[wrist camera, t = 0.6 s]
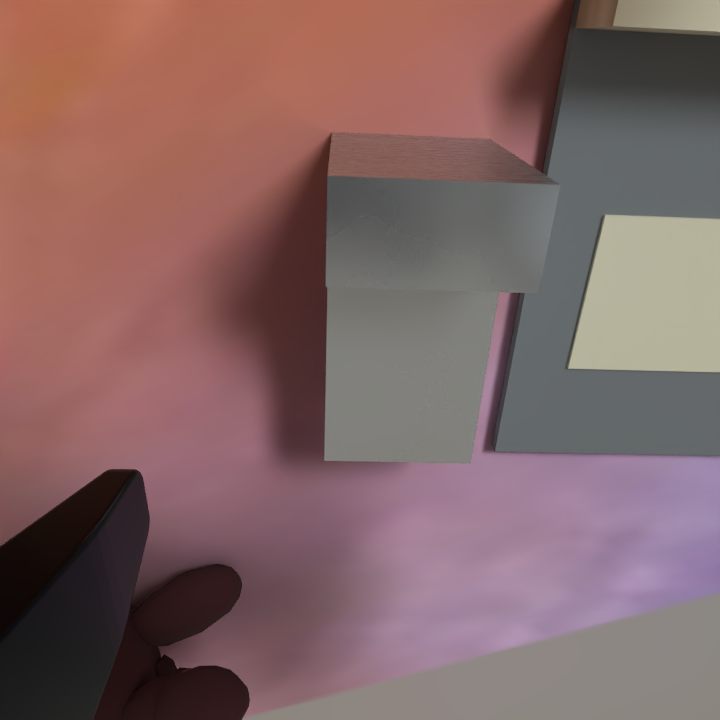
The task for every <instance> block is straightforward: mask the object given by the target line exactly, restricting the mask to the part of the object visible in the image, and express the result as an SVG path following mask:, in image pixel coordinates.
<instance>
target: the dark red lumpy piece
mask: <svg viewBox="0 0 720 720" xmlns="http://www.w3.org/2000/svg"><path fill="white" fill-rule="evenodd" d="M241 588H242V582H241V579H240V577H239V575H238V574H237V572H236V571H235V570H234V569H233V568H232V567H228V566H223V565H219V564H217V565H213V566H209V567H205V568H202V569H198V570H194V571H190V572H187V573H185V574H182V575H181V576H179V577H178V578H176V579H175V580H173V581H172V582H170V583H169V584H167V585H166V586H164V587H163V588H161V589H160V590H158V591H157V592H155V593H154V594H152V595H151V596H150V597H149V598H148V599H147V600H146V601H145V602H144V603H143V604H142V605H141V606H140V607H139V608H138V609H137V610H136V611H135V612H134V613H133V614H131V613H130V612H129V614H128V618H127V622H126V626H125V629H124V633H123V637H122V640H121V643H120V646H119V649H118V652H117V655H116V658H115V661H114V663H113V666H112V669H111V672H110V674H109V677H108V680H107V682H106V685H105V688H104V691H103V693H102V696H101V699H100V702H99V704H98V707H97V710H96V713H95V715H94V718H93V720H242V718H243V716H244V714H245V713H246V711H247V709H248V707H249V701H250V699H249V692H248V689H247V687H246V685H245V684H244V683H243V682H242V681H241V680H240V678H239V677H238V676H237V675H236V674H235V673H233V672H232V671H231V670H229V669H226V668H222V667H219V666H198V667H195V668H179V669H177V668H176V665H175V663H174V661H173V660H172V659H171V658H170V657H168V656H167V655H165V654H164V655H163V656H162V657H161V655H160V651H159V649H158V646H168V645H170V644H173V643H175V642H178V641H180V640H183V639H185V638H188V637H190V636H193V635H195V634H198V633H200V632H202V631H204V630H205V629H207V628H208V627H209V626H211V625H212V624H213V623H215V622H216V621H217V620H219V619H220V618H221V617H223V616H224V615H225V614H227V613H228V612H230V610H231V609H232V607H233V606H234V604H235V603H236V601H237V600H238V598H239V597H240V593H241Z"/></svg>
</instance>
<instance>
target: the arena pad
mask: <svg viewBox="0 0 720 720" xmlns="http://www.w3.org/2000/svg"><path fill="white" fill-rule="evenodd" d="M580 1H581V0H575V1H574V3H575V4H574V7H573V12H572V17H571V23H570V28H569V33H568V39H567V44H566V50H565V55H564V60H563V66H562V71H561V77H560V82H559V87H558V93H557V98H556V103H555V109H554V114H553V120H552V125H551V130H550V136H549V141H548V147H547V152H546V157H545V163H544V168H543V174H545V175H546V176H548V177H549V178H551V179H552V180H554V181H555V182H557V183H558V184H560V190H559V195H558V200H557V205H556V210H555V215H554V220H553V225H552V230H551V235H550V239H549V244H548V249H547V254H546V259H545V264H544V269H543V274H542V279H541V284H540V289H539V293H520V297H519V303H518V308H517V313H516V319H515V324H514V330H513V335H512V340H511V346H510V351H509V356H508V362H507V367H506V373H505V378H504V383H503V389H502V394H501V399H500V405H499V410H498V416H497V421H496V426H495V432H494V437H493V443H492V445H493V448H494V450H495V452H540V453H595V454H650V455H705V456H720V36H712V35H693V34H674V33H655V32H635V31H616V30H597V29H577V28H576V22H577V19H576V17H578V12H579V7H580ZM578 3H579V4H578ZM576 4H577V5H576ZM578 5H579V7H578ZM577 7H578V8H577ZM575 14H576V15H575ZM573 16H575V17H573ZM574 25H575V26H574Z"/></svg>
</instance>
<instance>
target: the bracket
mask: <svg viewBox="0 0 720 720" xmlns="http://www.w3.org/2000/svg"><path fill="white" fill-rule="evenodd" d="M559 190H560V184H558V183H557V182H555V181H554V180H552V179H551V178H549V177H548V176H546V175H545V174H543V173H542V172H540V171H539V170H537V169H535V168H534V167H532V166H531V165H529V164H528V163H526V162H525V161H523V160H522V159H520V158H519V157H517V156H515V155H514V154H512V153H511V152H509V151H508V150H506V149H505V148H503V147H502V146H500V145H499V144H497V143H496V142H494V141H492V140H491V139H485V138H462V137H438V136H415V135H392V134H368V133H345V132H332V138H331V147H330V156H329V166H328V175H327V229H326V287H328V288H327V341H326V395H325V449H324V461H367V462H423V463H471V457H472V451H473V445H474V439H475V433H476V427H477V421H478V415H479V409H480V403H481V397H482V391H483V385H484V379H485V373H486V367H487V362H488V356H489V350H490V344H491V338H492V332H493V326H494V320H495V314H496V308H497V302H498V296H499V292H508V293H539V289H540V284H541V279H542V274H543V269H544V264H545V259H546V254H547V249H548V244H549V239H550V235H551V230H552V225H553V220H554V215H555V210H556V205H557V200H558V195H559Z"/></svg>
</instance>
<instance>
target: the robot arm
mask: <svg viewBox="0 0 720 720" xmlns="http://www.w3.org/2000/svg"><path fill="white" fill-rule="evenodd" d="M149 522H150V518H149V510H148V504H147V499H146V493H145V487H144V481H143V477H142V475H141V473H140V472H139V471H137V470H135V469H111V470H107V471H105V472H104V473H102V474H101V475H100V476H98V477H97V478H95V479H94V480H93V481H91V482H90V483H88V484H87V485H86V486H84V487H83V488H81V489H80V490H79V491H77V492H76V493H74V494H73V495H72V496H70V497H69V498H67V499H66V500H65V501H63V502H62V503H60V504H59V505H58V506H56V507H55V508H53V509H52V510H51V511H49V512H48V513H46V514H45V515H44V516H42V517H41V518H39V519H38V520H37V521H35V522H34V523H32V524H31V525H30V526H28V527H27V528H25V529H24V530H23V531H21V532H20V533H18V534H17V535H16V536H14V537H13V538H11V539H10V540H9V541H7V542H6V543H4V544H3V545H2V546H0V720H93V718H94V715H95V713H96V710H97V707H98V704H99V702H100V699H101V696H102V693H103V691H104V688H105V685H106V682H107V680H108V677H109V674H110V672H111V669H112V666H113V663H114V661H115V658H116V655H117V652H118V649H119V646H120V643H121V640H122V637H123V633H124V629H125V626H126V622H127V618H128V614H129V610H130V606H131V601H132V597H133V593H134V589H135V585H136V581H137V577H138V573H139V569H140V565H141V561H142V556H143V552H144V548H145V544H146V540H147V536H148V531H149Z"/></svg>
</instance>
